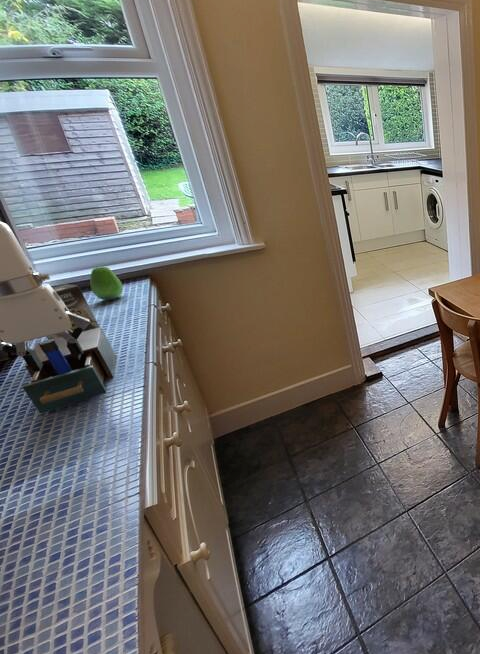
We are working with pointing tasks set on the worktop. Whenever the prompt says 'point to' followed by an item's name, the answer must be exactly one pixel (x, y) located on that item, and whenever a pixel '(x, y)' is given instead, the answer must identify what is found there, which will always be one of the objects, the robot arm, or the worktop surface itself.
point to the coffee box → (75, 306)
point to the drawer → (66, 383)
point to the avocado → (105, 283)
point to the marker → (55, 356)
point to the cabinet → (85, 350)
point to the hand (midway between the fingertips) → (58, 362)
